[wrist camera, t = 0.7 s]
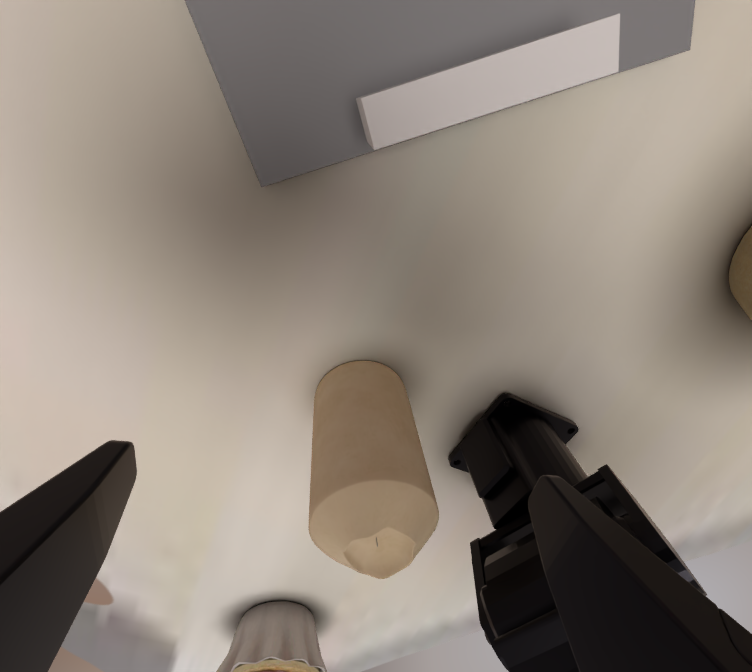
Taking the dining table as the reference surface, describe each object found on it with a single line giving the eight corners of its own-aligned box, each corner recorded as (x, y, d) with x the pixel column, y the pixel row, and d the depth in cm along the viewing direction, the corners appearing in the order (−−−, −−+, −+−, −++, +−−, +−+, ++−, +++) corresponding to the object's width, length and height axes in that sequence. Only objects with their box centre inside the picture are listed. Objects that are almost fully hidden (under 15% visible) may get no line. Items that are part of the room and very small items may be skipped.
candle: (295, 386, 24) (277, 551, 15) (378, 342, 23) (410, 491, 14) (344, 444, 26) (353, 612, 18) (420, 407, 25) (468, 565, 17)
